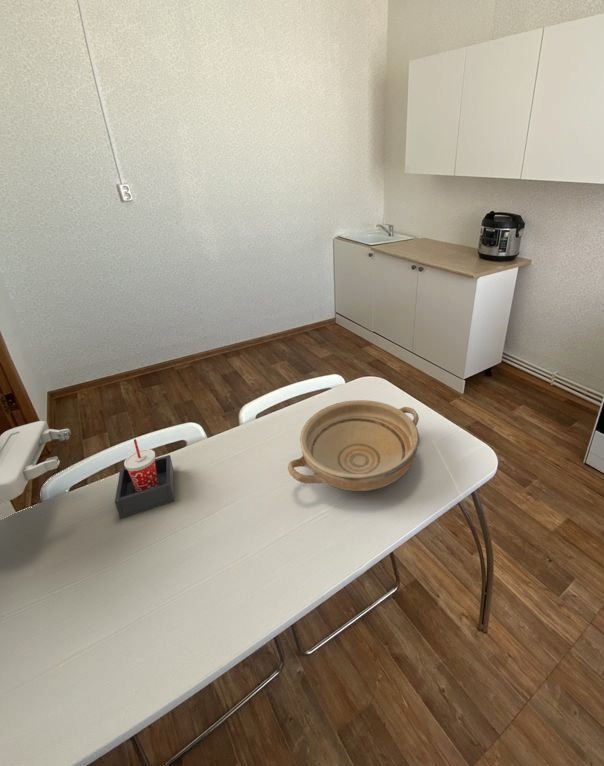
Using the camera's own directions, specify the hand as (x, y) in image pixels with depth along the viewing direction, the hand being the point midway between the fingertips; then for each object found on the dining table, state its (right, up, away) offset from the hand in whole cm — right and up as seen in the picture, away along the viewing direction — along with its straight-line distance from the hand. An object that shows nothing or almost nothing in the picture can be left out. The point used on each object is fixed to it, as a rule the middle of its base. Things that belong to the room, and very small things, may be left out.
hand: (64, 446), depth 78 cm
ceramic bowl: (+60, -11, +18) cm, 64 cm away
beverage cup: (+11, -14, +11) cm, 21 cm away
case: (+11, -15, +11) cm, 22 cm away
